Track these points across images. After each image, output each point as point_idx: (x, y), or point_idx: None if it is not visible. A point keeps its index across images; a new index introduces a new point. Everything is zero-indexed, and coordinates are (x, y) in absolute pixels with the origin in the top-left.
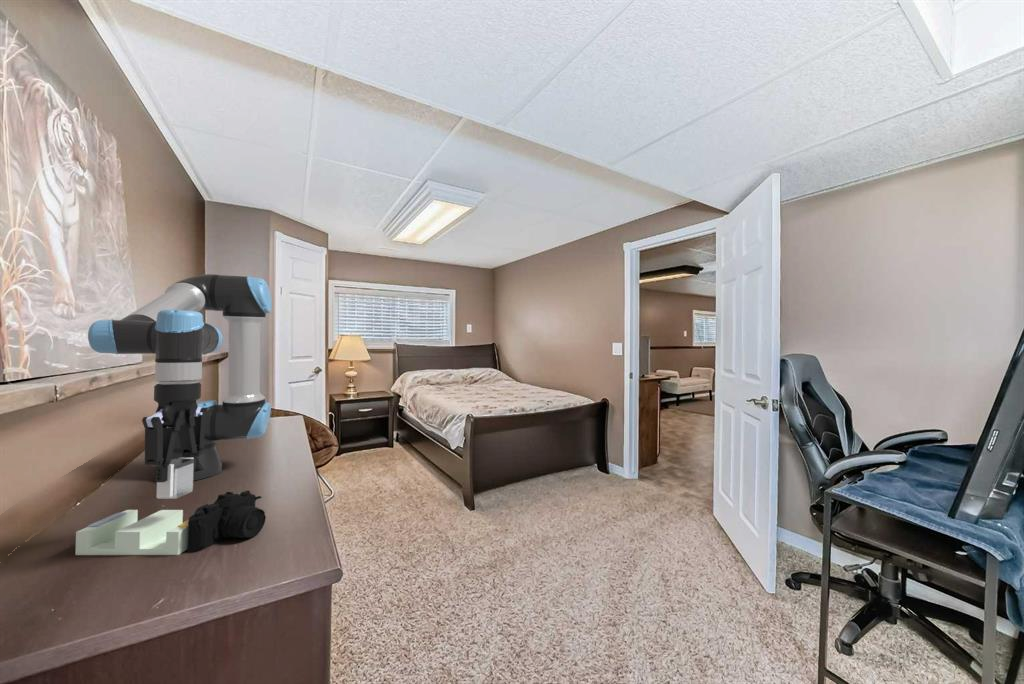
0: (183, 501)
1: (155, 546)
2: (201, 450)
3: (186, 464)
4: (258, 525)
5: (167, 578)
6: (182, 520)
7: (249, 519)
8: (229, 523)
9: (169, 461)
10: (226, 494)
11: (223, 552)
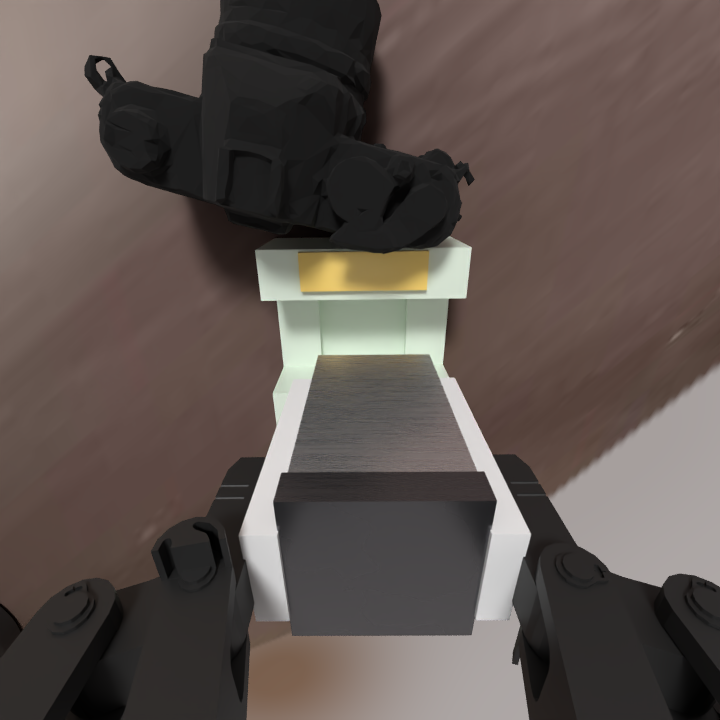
0: (106, 507)
1: (429, 331)
2: (92, 587)
3: (377, 479)
4: None
5: (598, 144)
6: (282, 373)
7: None
8: (368, 76)
9: (560, 581)
10: (243, 183)
11: (443, 58)
